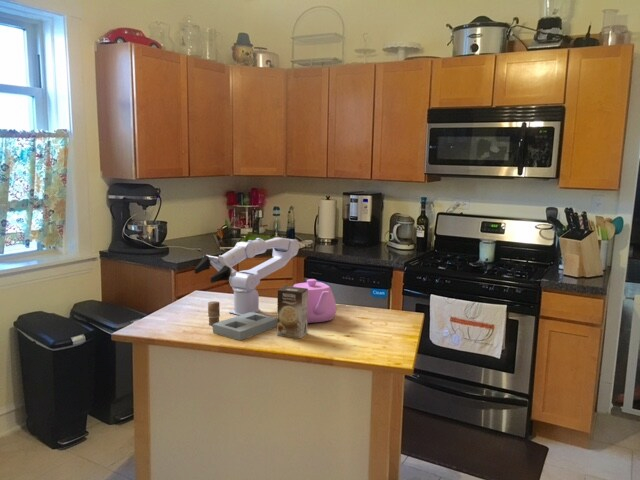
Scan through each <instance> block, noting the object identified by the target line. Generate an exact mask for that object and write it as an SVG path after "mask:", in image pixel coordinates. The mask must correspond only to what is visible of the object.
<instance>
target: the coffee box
mask: <svg viewBox="0 0 640 480" xmlns="http://www.w3.org/2000/svg"><path fill="white" fill-rule="evenodd" d="M276 303H277V307H276V309H277V311H276V312H277V314H276V315H277V317H276V318H277V327H276V328H277V329H276V336H281V337H288V338H295V339H303V337H304V336H306V335H307V334H308V324H307V306H308V289H307V288H299V287H293V286H291V285H290V286H289V285H284V286H281V287H280V288H279V289H278V290H277V302H276Z"/></svg>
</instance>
